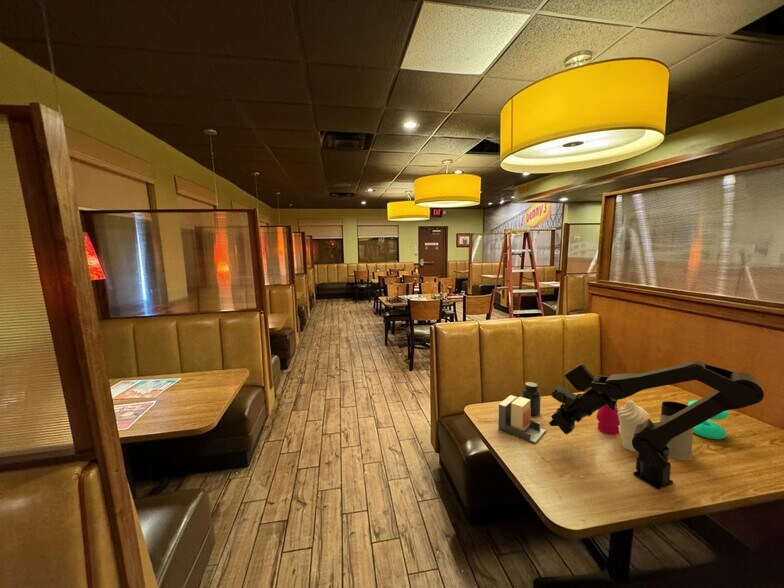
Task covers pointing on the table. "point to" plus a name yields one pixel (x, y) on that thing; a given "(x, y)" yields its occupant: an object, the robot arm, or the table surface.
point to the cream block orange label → (520, 413)
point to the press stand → (529, 434)
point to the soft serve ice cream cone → (630, 422)
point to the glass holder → (682, 442)
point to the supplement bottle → (532, 397)
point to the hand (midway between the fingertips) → (550, 424)
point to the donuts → (711, 426)
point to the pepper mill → (608, 420)
